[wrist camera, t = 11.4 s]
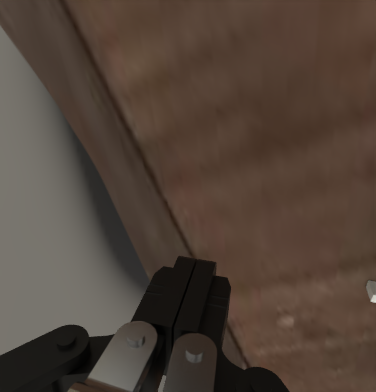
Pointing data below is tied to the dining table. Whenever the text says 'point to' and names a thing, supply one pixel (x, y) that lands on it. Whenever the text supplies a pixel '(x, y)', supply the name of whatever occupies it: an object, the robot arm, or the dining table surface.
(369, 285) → the frame
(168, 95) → the dining table surface
